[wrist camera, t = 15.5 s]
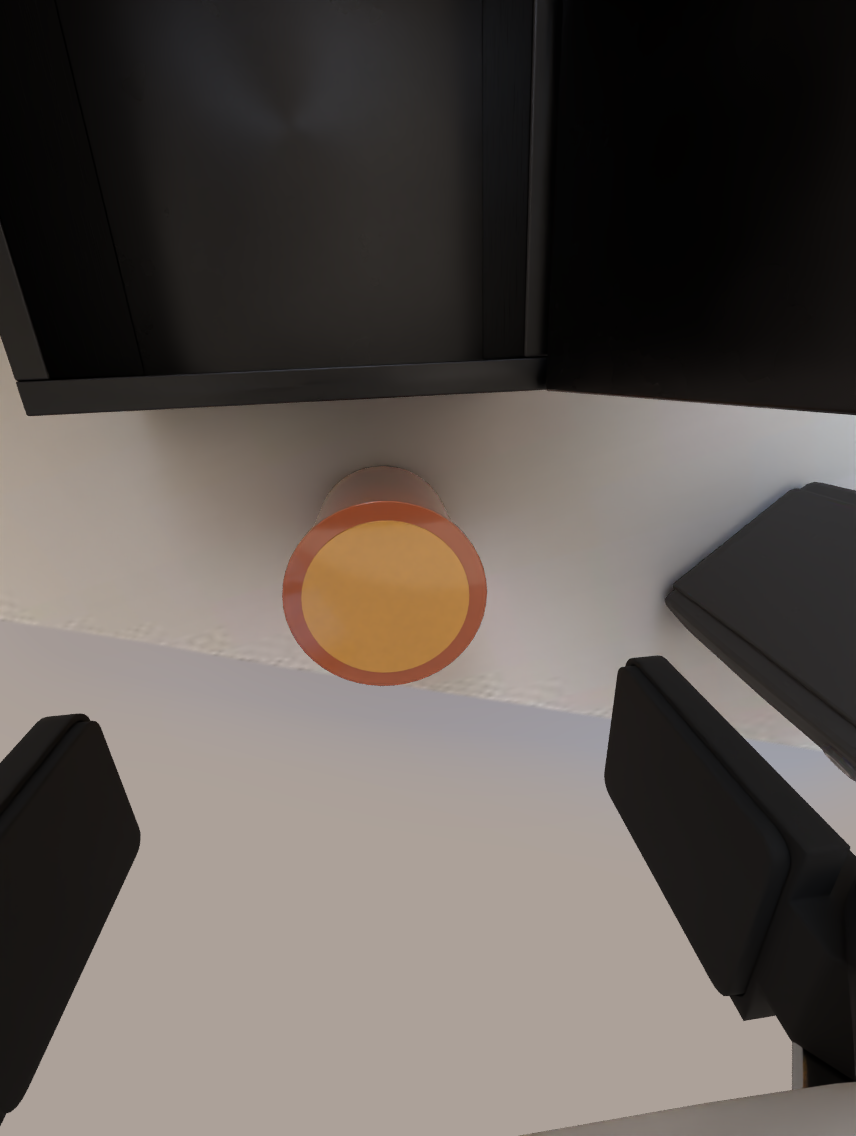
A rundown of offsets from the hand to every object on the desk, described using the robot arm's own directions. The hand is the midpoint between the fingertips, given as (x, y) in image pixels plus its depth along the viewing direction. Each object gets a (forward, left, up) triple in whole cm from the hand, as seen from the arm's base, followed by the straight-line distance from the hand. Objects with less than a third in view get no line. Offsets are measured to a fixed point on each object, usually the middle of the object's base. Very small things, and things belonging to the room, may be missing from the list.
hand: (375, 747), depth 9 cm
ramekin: (0, -1, -15) cm, 15 cm away
